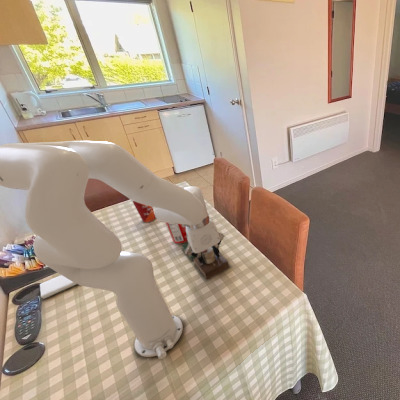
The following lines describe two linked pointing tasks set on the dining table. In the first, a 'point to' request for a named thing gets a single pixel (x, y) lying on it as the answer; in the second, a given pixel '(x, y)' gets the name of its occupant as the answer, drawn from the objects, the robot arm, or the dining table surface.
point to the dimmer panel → (212, 266)
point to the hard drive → (55, 286)
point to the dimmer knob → (209, 255)
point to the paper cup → (145, 211)
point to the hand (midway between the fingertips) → (209, 258)
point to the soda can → (177, 232)
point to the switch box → (191, 250)
